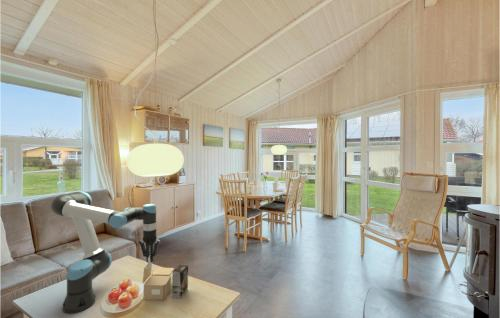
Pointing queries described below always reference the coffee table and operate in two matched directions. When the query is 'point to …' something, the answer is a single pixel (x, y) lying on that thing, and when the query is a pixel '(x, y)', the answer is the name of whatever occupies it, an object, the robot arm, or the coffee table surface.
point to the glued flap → (146, 273)
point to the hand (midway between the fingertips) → (150, 267)
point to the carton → (158, 284)
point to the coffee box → (180, 281)
